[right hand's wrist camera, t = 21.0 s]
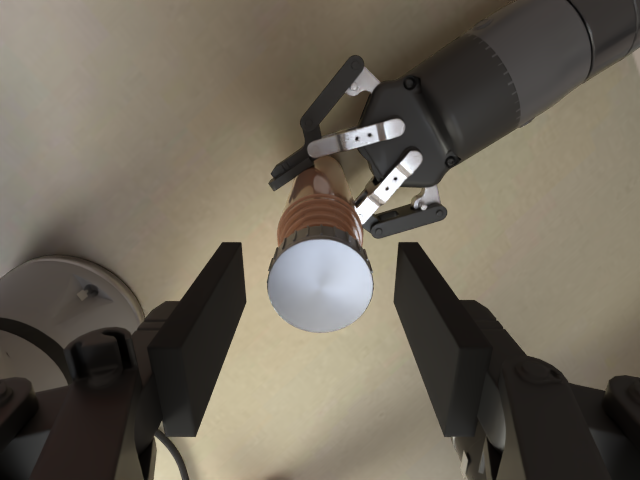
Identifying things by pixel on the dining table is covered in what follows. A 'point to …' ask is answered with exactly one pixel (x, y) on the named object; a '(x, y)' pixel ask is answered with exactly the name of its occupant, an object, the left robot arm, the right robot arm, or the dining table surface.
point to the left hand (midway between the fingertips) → (292, 211)
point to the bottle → (320, 201)
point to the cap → (320, 279)
